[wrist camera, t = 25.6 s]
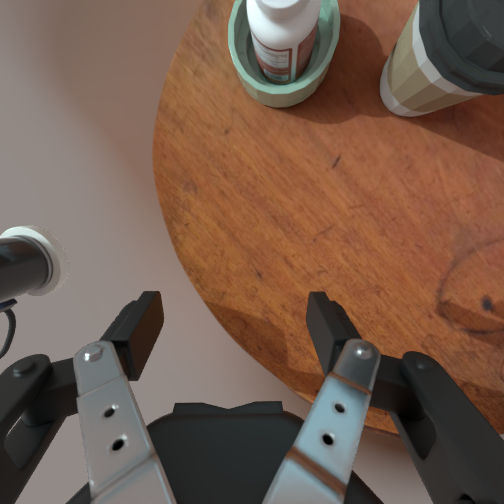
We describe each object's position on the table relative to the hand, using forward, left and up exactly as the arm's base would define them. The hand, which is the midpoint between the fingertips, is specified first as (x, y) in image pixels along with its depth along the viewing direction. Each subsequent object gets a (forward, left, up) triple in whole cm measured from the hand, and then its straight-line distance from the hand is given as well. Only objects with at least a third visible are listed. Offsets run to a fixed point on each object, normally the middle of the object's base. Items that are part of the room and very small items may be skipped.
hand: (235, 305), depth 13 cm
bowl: (+14, +16, -21) cm, 30 cm away
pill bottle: (+14, +16, -20) cm, 29 cm away
